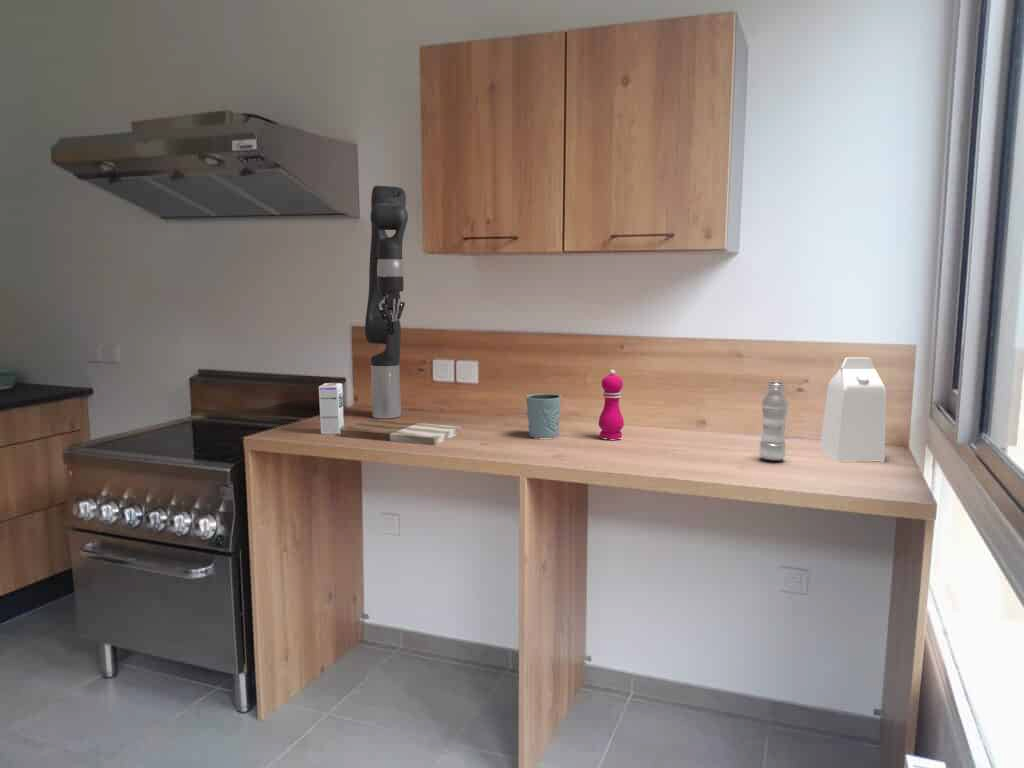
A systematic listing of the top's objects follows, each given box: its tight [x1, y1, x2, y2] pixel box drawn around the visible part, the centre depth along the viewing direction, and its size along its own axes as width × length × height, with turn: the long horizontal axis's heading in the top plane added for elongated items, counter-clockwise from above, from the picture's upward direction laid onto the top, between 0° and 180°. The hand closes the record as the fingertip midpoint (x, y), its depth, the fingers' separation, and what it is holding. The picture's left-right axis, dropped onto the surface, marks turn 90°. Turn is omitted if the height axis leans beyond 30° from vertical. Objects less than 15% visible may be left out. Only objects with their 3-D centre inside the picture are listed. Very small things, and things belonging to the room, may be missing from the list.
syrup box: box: [318, 382, 345, 435], centre depth 223 cm, size 6×6×14 cm
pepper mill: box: [598, 369, 625, 439], centre depth 216 cm, size 7×7×20 cm
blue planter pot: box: [525, 392, 562, 439], centre depth 219 cm, size 10×10×12 cm
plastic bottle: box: [758, 381, 790, 462], centre depth 191 cm, size 6×7×20 cm
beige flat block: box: [390, 422, 461, 446], centre depth 218 cm, size 17×14×2 cm
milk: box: [819, 357, 887, 461], centre depth 195 cm, size 12×12×26 cm
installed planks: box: [340, 418, 417, 442], centre depth 223 cm, size 17×16×2 cm
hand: (391, 334), depth 222 cm, fingers closed
